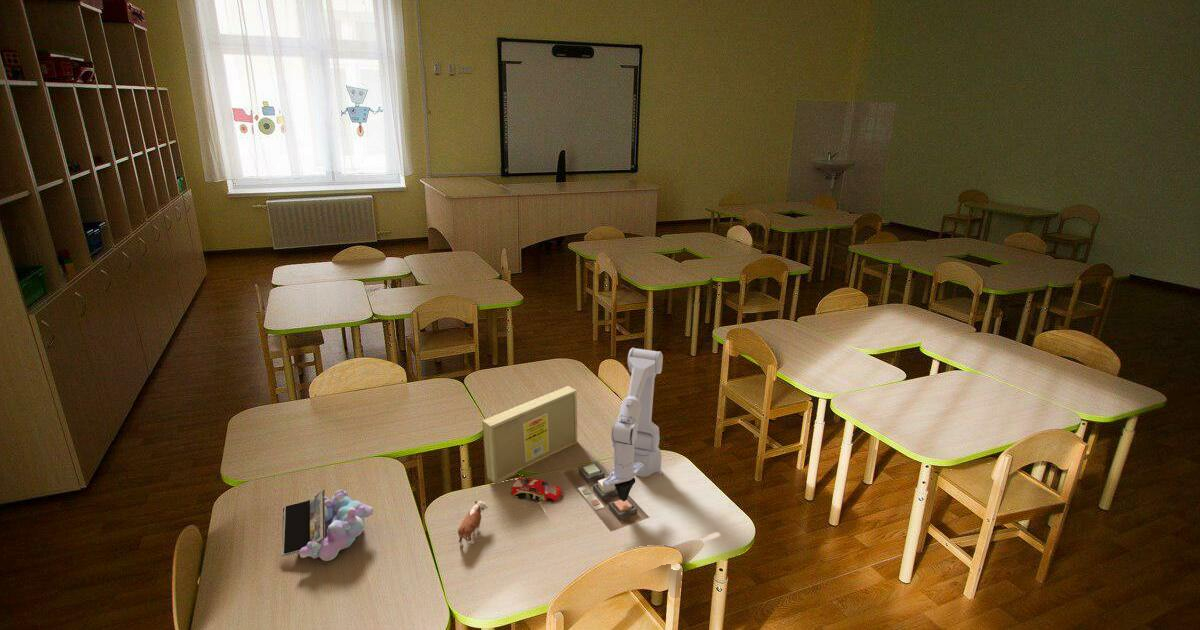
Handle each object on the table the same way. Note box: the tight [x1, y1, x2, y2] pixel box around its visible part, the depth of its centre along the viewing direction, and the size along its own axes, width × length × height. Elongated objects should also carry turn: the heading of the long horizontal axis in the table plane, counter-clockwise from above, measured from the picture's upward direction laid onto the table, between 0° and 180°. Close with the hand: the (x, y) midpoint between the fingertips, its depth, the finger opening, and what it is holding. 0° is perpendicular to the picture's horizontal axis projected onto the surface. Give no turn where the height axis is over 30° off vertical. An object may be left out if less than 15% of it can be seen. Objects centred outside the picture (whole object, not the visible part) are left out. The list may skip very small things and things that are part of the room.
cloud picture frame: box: [280, 487, 374, 562], centre depth 174 cm, size 20×22×18 cm
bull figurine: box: [457, 500, 489, 547], centre depth 179 cm, size 4×13×8 cm, turn 161°
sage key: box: [583, 463, 600, 477], centre depth 204 cm, size 4×4×2 cm
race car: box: [510, 477, 564, 503], centre depth 196 cm, size 16×7×5 cm, turn 74°
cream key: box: [598, 478, 615, 494], centre depth 196 cm, size 4×4×2 cm
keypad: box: [562, 461, 650, 532], centre depth 196 cm, size 13×32×3 cm, turn 28°
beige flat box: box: [482, 385, 579, 485], centre depth 210 cm, size 35×5×22 cm, turn 132°
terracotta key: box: [614, 500, 632, 513], centre depth 188 cm, size 4×4×2 cm
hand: (623, 499), depth 187 cm, fingers closed
